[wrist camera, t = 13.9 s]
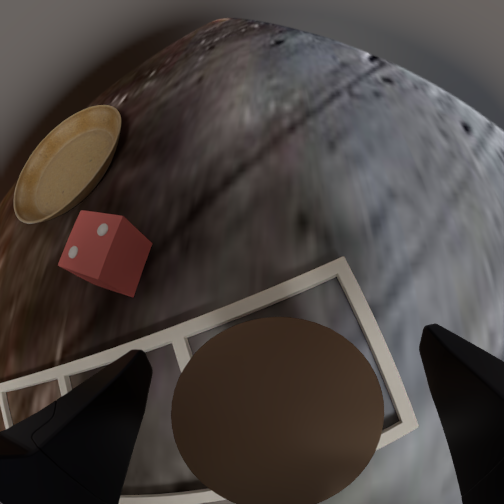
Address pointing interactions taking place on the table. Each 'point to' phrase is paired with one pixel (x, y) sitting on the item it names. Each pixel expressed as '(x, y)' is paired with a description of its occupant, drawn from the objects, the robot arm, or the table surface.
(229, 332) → the brown flanged cylinder
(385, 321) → the table surface
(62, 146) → the plant saucer
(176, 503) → the track
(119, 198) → the table surface
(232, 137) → the table surface
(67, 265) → the red die
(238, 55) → the table surface
